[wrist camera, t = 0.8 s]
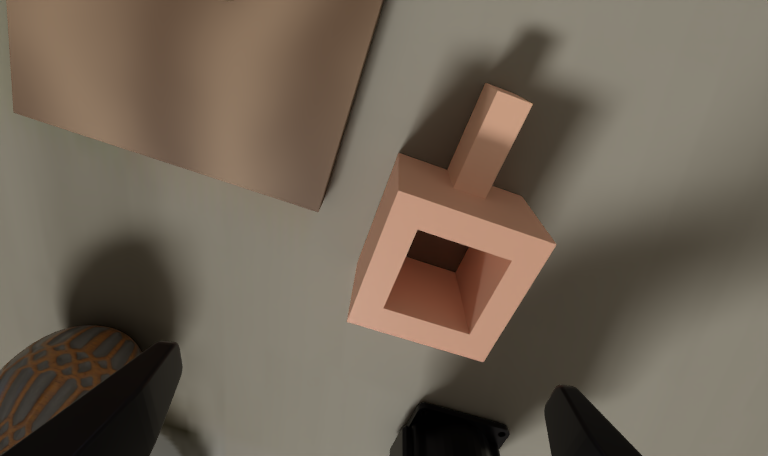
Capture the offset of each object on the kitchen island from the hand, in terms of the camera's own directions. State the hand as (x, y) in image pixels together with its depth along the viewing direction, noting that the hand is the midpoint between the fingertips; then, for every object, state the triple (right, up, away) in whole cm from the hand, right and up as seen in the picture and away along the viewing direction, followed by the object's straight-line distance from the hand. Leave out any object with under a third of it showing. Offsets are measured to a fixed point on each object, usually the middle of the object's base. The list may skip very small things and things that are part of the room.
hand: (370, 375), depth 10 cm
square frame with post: (+4, +5, +11) cm, 12 cm away
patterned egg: (-17, -4, +16) cm, 24 cm away
